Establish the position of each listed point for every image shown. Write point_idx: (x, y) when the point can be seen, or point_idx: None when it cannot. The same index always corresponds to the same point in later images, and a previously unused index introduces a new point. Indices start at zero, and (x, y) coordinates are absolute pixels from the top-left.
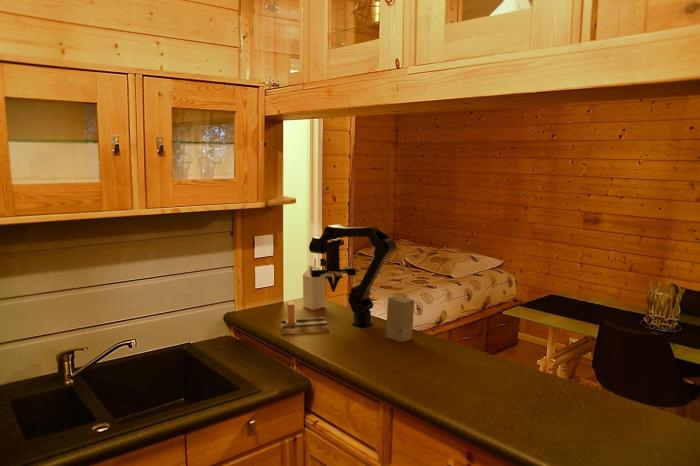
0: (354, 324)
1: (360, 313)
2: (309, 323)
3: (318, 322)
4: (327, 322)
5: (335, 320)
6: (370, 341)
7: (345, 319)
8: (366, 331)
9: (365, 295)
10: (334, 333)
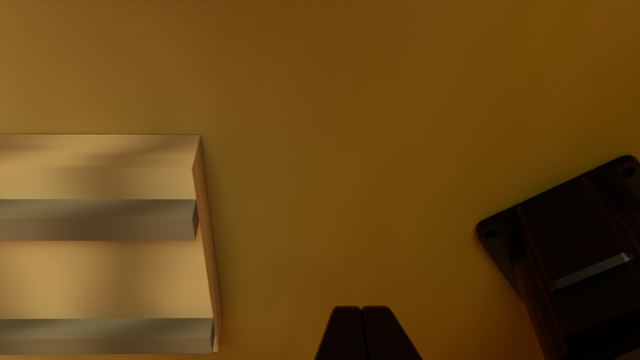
0: (492, 256)
1: None
2: (27, 341)
3: (121, 261)
4: (210, 343)
5: (345, 67)
6: None
7: (479, 57)
8: (523, 353)
9: None
10: (267, 350)
